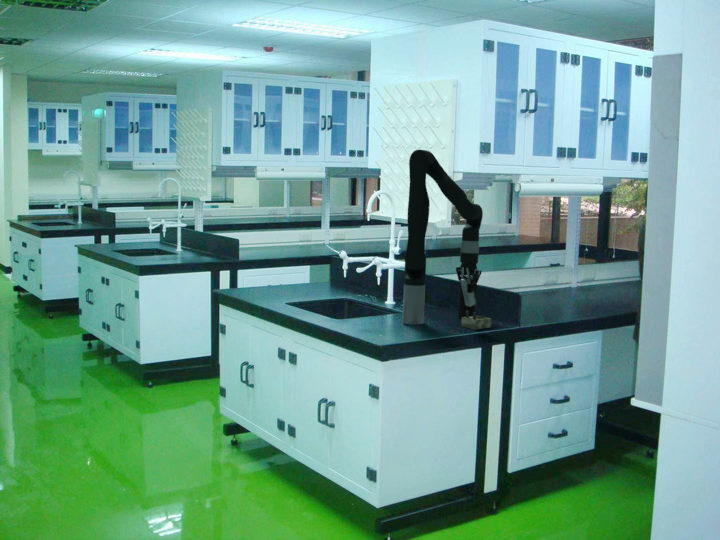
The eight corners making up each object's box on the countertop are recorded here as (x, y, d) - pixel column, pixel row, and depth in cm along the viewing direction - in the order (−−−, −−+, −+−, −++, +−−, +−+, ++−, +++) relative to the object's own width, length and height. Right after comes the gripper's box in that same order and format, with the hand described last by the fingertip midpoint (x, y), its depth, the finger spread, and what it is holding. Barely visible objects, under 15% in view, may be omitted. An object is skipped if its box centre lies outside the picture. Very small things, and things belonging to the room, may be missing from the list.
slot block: (474, 329, 321) (475, 313, 320) (461, 326, 327) (462, 310, 326) (491, 327, 326) (491, 311, 326) (478, 324, 333) (478, 308, 332)
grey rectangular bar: (470, 306, 318) (465, 280, 314) (465, 305, 320) (460, 279, 317) (475, 303, 319) (470, 277, 316) (470, 302, 322) (465, 276, 318)
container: (466, 321, 340) (468, 277, 338) (453, 318, 347) (454, 275, 345) (480, 319, 345) (482, 276, 343) (466, 316, 352) (468, 274, 350)
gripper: (488, 253, 312) (485, 294, 314) (464, 249, 324) (462, 289, 326) (474, 253, 308) (472, 295, 310) (451, 250, 319) (449, 290, 321)
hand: (467, 292), depth 318 cm, fingers closed on grey rectangular bar, 3 cm apart
